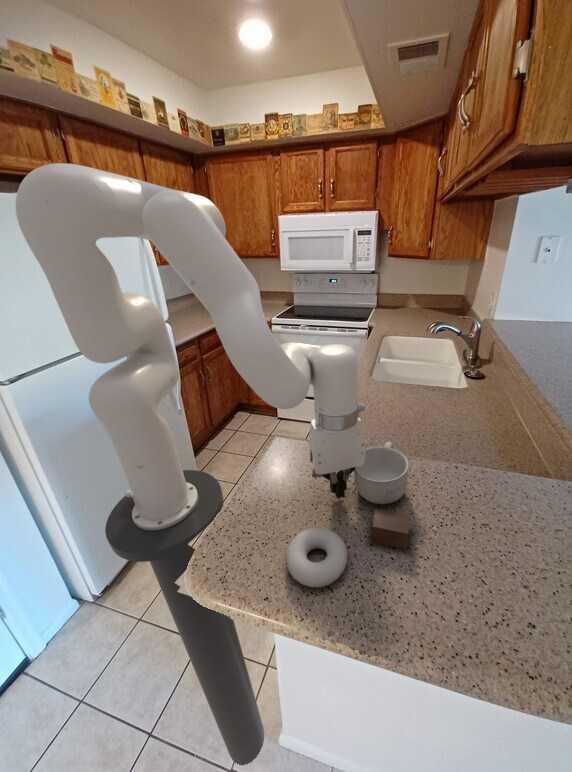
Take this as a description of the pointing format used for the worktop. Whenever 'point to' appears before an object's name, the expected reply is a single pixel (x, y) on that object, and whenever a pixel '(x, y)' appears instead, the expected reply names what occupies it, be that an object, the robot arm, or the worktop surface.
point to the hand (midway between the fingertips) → (338, 492)
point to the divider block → (390, 529)
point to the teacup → (382, 474)
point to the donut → (317, 571)
